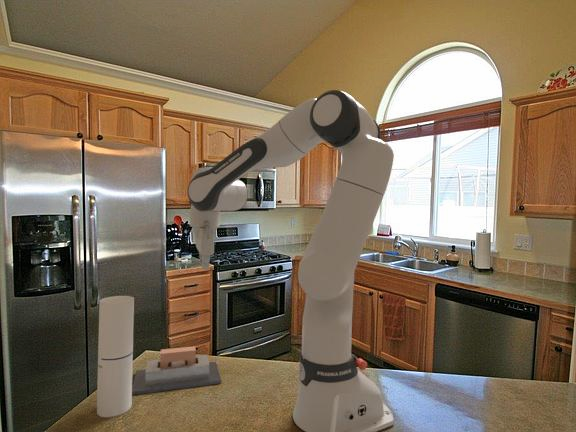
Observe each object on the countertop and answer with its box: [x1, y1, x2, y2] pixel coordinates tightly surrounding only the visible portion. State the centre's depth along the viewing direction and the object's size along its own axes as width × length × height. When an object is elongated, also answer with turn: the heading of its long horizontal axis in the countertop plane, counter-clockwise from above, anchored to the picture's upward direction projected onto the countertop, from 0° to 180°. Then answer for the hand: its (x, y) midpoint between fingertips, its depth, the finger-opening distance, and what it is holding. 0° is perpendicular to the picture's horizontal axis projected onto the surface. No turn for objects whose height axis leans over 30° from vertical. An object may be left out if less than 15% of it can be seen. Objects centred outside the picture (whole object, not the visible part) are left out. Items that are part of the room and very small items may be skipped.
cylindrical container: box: [96, 295, 135, 418], centre depth 78 cm, size 7×7×25 cm
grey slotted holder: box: [132, 354, 222, 396], centre depth 93 cm, size 22×12×4 cm, turn 109°
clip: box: [159, 345, 197, 368], centre depth 93 cm, size 9×3×7 cm, turn 108°
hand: (203, 267), depth 103 cm, fingers open, 8 cm apart
